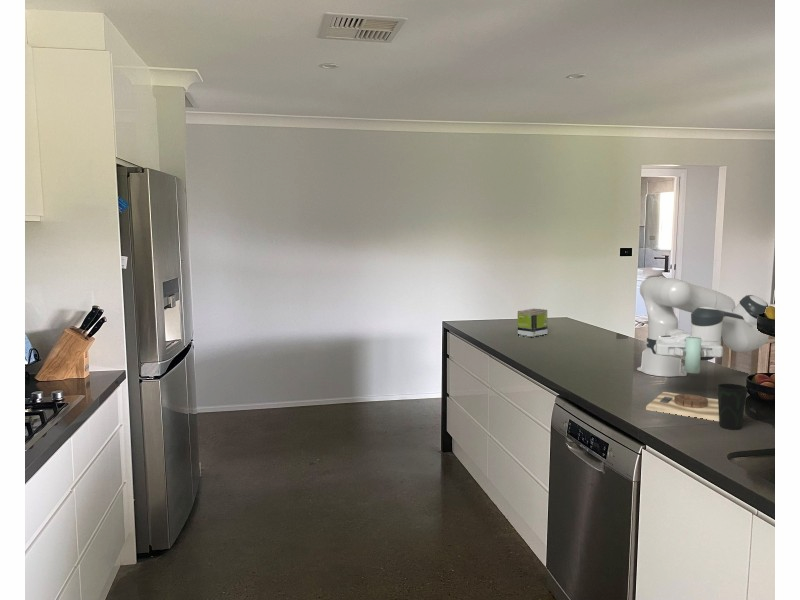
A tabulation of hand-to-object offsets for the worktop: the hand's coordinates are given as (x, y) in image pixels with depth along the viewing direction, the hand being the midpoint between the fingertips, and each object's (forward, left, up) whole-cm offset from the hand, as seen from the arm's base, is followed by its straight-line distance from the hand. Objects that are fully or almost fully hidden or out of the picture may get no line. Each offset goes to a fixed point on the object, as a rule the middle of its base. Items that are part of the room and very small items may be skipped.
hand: (693, 353), depth 191 cm
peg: (-1, 0, -6) cm, 6 cm away
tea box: (-103, -102, -18) cm, 146 cm away
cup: (+14, +13, -18) cm, 26 cm away
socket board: (-1, 0, -18) cm, 18 cm away
